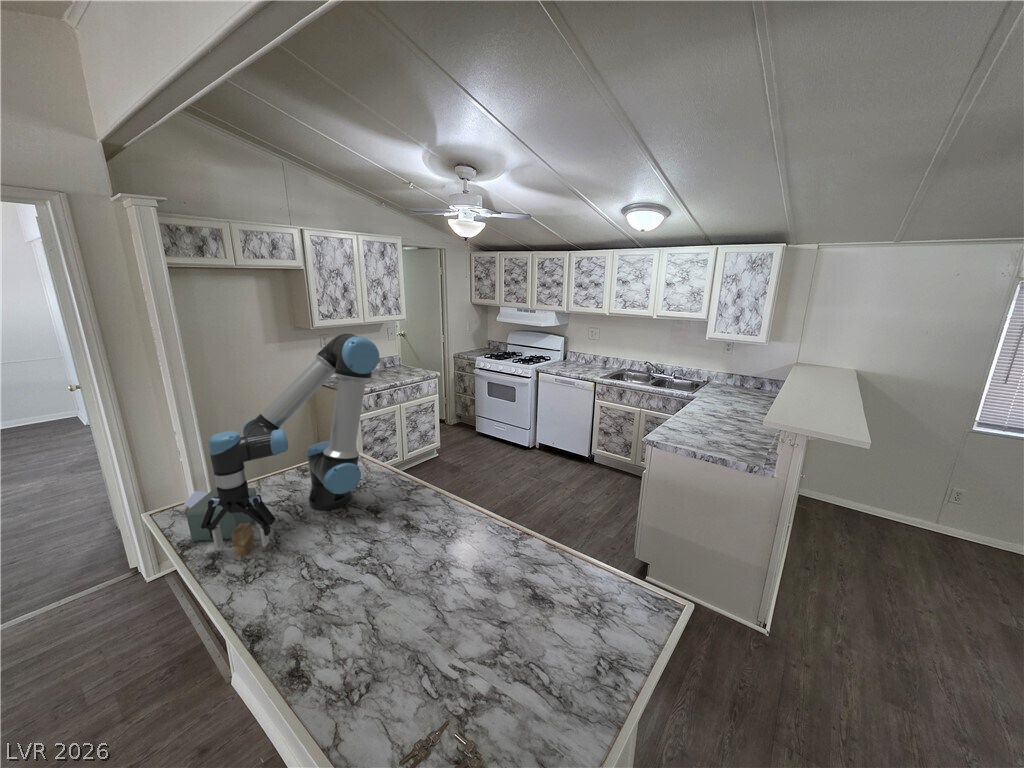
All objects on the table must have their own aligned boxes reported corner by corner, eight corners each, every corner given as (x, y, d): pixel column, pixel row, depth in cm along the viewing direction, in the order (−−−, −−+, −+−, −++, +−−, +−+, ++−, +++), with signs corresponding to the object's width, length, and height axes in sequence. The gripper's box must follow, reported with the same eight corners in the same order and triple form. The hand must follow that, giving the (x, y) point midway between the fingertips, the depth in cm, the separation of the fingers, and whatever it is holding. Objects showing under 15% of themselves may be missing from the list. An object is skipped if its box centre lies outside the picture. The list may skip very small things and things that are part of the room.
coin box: (260, 515, 144) (255, 487, 141) (238, 539, 130) (232, 509, 127) (218, 517, 142) (212, 489, 139) (192, 542, 129) (185, 512, 126)
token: (254, 544, 128) (250, 522, 126) (246, 555, 123) (241, 532, 121) (244, 545, 127) (240, 523, 125) (235, 556, 122) (231, 533, 120)
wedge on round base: (185, 513, 145) (206, 522, 140) (181, 496, 144) (202, 504, 138) (212, 501, 153) (232, 509, 148) (208, 485, 151) (229, 492, 146)
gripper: (281, 475, 124) (290, 535, 129) (195, 479, 121) (207, 540, 127) (270, 487, 117) (279, 550, 122) (177, 491, 114) (191, 555, 119)
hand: (242, 545), depth 124 cm, fingers open, 13 cm apart
